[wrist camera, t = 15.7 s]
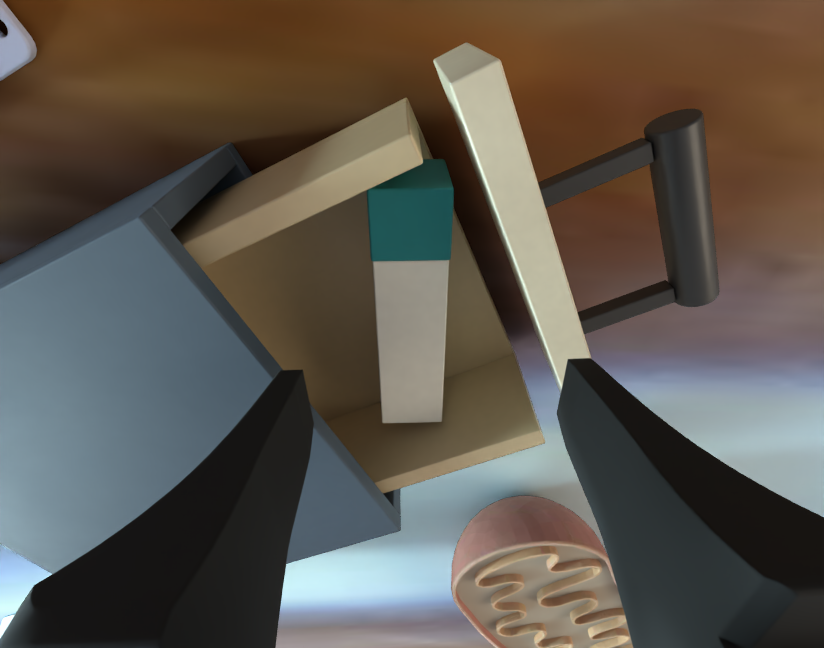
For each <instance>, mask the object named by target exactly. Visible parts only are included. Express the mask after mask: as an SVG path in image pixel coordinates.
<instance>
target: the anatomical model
mask: <svg viewBox="0 0 824 648" xmlns="http://www.w3.org/2000/svg"><path fill="white" fill-rule="evenodd" d="M451 590H452V595H453V599H454V602H455V603H456V605H457V606H458V608H459V609H460V611H461V612H462V613H463V614H464V615H465V616H466V617H467V619H468V620H469V621H470V622H471V623H472V624H473V626H474V627H475V628H476V629H477V630H478V631H479V633H480V634H482V635H483V636H484V637H485V638H486V639H487V640H488V641H489V642H490V643H491V644H492V645H493V646H494V647H495V648H633V645H632V641H631V637H630V633H629V629H628V625H627V621H626V617H625V613H624V610H623V606H622V603H621V599H620V596H619V592H618V588H617V585H616V581H615V578H614V574H613V571H612V567H611V564H610V561H609V558H608V555H607V553H606V551H605V549H604V548H603V546H602V544H601V542H600V541H599V539H598V537H597V536H596V534H595V533H594V531H593V530H592V529H591V528H590V527H589V526H588V525H587V524H586V522H585V521H583V520H582V519H581V518H580V517H579V516H578V515H576V514H575V513H574V512H572V511H571V510H570V509H568V508H566V507H564V506H562V505H560V504H558V503H556V502H554V501H551V500H548V499H545V498H541V497H534V496H515V497H509V498H505V499H501V500H499V501H497V502H495V503H492V504H490V505H489V506H487V507H486V508H484V509H482V510H481V511H480V512H479V513H478V514H477V515H476V516H475V517H474V518H472V519H471V521H470V522H469V524H468V525H467V526H466V528H465V529H464V531H463V533H462V535H461V537H460V539H459V541H458V543H457V546H456V549H455V553H454V557H453V562H452V579H451Z"/></svg>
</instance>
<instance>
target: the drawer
mask: <svg viewBox="0 0 824 648" xmlns="http://www.w3.org/2000/svg"><path fill="white" fill-rule="evenodd" d="M434 64H435V67H436V70H437V72H438V75H439V78H440V80H441V83H442V86H443V88H444V91H445V93H446V96H447V99H448V101H449V104H450V107H451V109H452V112H453V115H454V117H455V120H456V123H457V125H458V128H459V131H460V133H461V136H462V139H463V141H464V144H465V147H466V149H467V152H468V154H469V157H470V160H471V162H472V165H473V168H474V170H475V173H476V176H477V178H478V181H479V184H480V186H481V189H482V192H483V194H484V197H485V200H486V202H487V205H488V208H489V210H490V213H491V215H492V218H493V221H494V223H495V226H496V229H497V231H498V234H499V237H500V239H501V242H502V245H503V247H504V250H505V253H506V255H507V258H508V261H509V263H510V266H511V269H512V271H513V274H514V277H515V279H516V282H517V284H518V287H519V290H520V292H521V295H522V298H523V300H524V303H525V306H526V308H527V311H528V314H529V316H530V319H531V322H532V324H533V327H534V330H535V332H536V335H537V338H538V340H539V343H540V345H541V348H542V351H543V353H544V356H545V358H546V360H547V363H548V365H549V367H550V370H551V372H552V375H553V377H554V379H555V382H556V384H557V386H558V389H559V391H560V394H561V390H562V385H563V380H564V375H565V370H566V365H567V360H568V359H579V358H591V356H590V352H589V349H588V346H587V343H586V339H585V336H584V334H586V333H589V332H592V331H595V330H598V329H600V328H603V327H606V326H609V325H612V324H614V323H617V322H620V321H623V320H626V319H629V318H631V317H634V316H637V315H640V314H643V313H645V312H648V311H651V310H654V309H657V308H659V307H662V306H665V305H668V304H671V303H673V302H675V303H677V304H679V305H681V306H686V307H698V306H703V305H706V304H708V303H710V302H712V301H714V300H715V299H716V298H717V296H718V295H719V280H718V269H717V259H716V248H715V237H714V226H713V215H712V204H711V193H710V183H709V172H708V161H707V150H706V139H705V128H704V118H703V113H702V111H700V110H698V109H684V110H678V111H674V112H671V113H668V114H665V115H662V116H660V117H658V118H656V119H654V120H653V121H651V122H650V123H649V124H647V125H646V127H645V129H644V134H645V139H644V138H640V139H638V140H635V141H633V142H631V143H628V144H626V145H624V146H621V147H619V148H617V149H615V150H612V151H610V152H608V153H605V154H603V155H601V156H599V157H596V158H594V159H592V160H589V161H587V162H585V163H583V164H580V165H578V166H576V167H573V168H571V169H569V170H566V171H564V172H562V173H560V174H557V175H555V176H553V177H550V178H548V179H546V180H544V181H541V182H539V183H538V182H537V178H536V175H535V172H534V168H533V165H532V162H531V159H530V155H529V152H528V149H527V145H526V142H525V139H524V136H523V132H522V129H521V126H520V122H519V119H518V116H517V113H516V109H515V106H514V103H513V99H512V96H511V93H510V90H509V86H508V83H507V80H506V76H505V73H504V70H503V67H502V63H501V61H500V60H499V59H498V58H496V57H494V56H492V55H490V54H488V53H486V52H484V51H483V50H481V49H479V48H477V47H475V46H473V45H471V44H469V43H464V44H462V45H460V46H458V47H456V48H455V49H453V50H451V51H449V52H447V53H445V54H443V55H441V56H439V57H437V58H435V59H434ZM423 159H433V158H432V155H431V153H430V151H429V148H428V146H427V143H426V141H425V139H424V136H423V134H422V132H421V129H420V127H419V124H418V122H417V120H416V117H415V115H414V113H413V110H412V108H411V105H410V103H409V101H408V99H407V98H404V99H402V100H400V101H398V102H396V103H394V104H392V105H390V106H388V107H386V108H384V109H382V110H380V111H378V112H376V113H374V114H372V115H370V116H369V117H367V118H365V119H363V120H361V121H359V122H357V123H355V124H353V125H351V126H349V127H347V128H345V129H343V130H341V131H339V132H337V133H335V134H333V135H331V136H329V137H327V138H325V139H323V140H321V141H319V142H317V143H315V144H313V145H311V146H310V147H308V148H306V149H304V150H302V151H300V152H298V153H296V154H294V155H292V156H290V157H288V158H286V159H284V160H282V161H280V162H278V163H276V164H274V165H272V166H270V167H268V168H266V169H264V170H262V171H260V172H258V173H256V174H254V175H253V176H251V177H249V178H247V179H245V180H243V181H241V182H239V183H237V184H235V185H233V186H231V187H229V188H227V189H225V190H223V191H221V192H219V193H217V194H215V195H213V196H211V197H209V198H207V199H205V200H203V201H201V202H199V203H197V204H196V205H195V206H194V207H193V208H192V209H191V210H190V211H189V212H188V213H187V214H186V215H185V216H184V217H183V218H182V219H181V220H180V221H179V222H178V223H177V224H176V225H175V226H174V227H173V228H172V229H171V231H172V233H173V234H174V235H175V236H176V238H177V239H178V240H179V241H180V242H181V244H182V245H183V246H184V247H185V249H186V250H187V251H188V252H189V254H190V255H191V256H192V257H193V259H194V260H195V261H196V262H197V264H198V265H199V266H200V267H201V269H202V270H203V271H204V272H205V274H206V275H207V276H208V277H209V278H210V280H211V281H212V282H213V283H214V285H215V286H216V287H217V288H218V290H219V291H220V292H221V293H222V295H223V296H224V297H225V298H226V300H227V301H228V302H229V303H230V305H231V306H232V307H233V308H234V309H235V311H236V312H237V313H238V314H239V316H240V317H241V318H242V319H243V321H244V322H245V323H246V324H247V326H248V327H249V328H250V329H251V331H252V332H253V333H254V334H255V336H256V337H257V338H258V339H259V341H260V342H261V343H262V344H263V345H264V347H265V348H266V349H267V350H268V352H269V353H270V354H271V355H272V357H273V358H274V359H275V360H276V362H277V363H278V364H279V365H280V367H281V368H282V369H283V370H302V369H303V373H304V378H305V383H306V388H307V392H308V397H309V402H310V404H311V405H312V406H313V408H314V409H315V410H316V411H317V412H318V414H319V415H320V416H321V417H322V419H323V420H324V421H325V422H326V424H327V425H328V426H329V427H330V429H331V430H332V431H333V432H334V434H335V435H336V436H337V437H338V439H339V440H340V441H341V442H342V444H343V445H344V446H345V447H346V448H347V450H348V451H349V452H350V453H351V455H352V456H353V457H354V458H355V460H356V461H357V462H358V463H359V465H360V466H361V467H362V468H363V470H364V471H365V472H366V473H367V475H368V476H369V477H370V478H371V480H372V481H373V482H374V483H375V484H376V486H377V487H378V488H379V489H380V491H381V492H382V493H386V492H390V491H393V490H396V489H399V488H402V487H406V486H409V485H412V484H415V483H419V482H422V481H425V480H428V479H431V478H435V477H438V476H441V475H444V474H447V473H451V472H454V471H457V470H460V469H463V468H467V467H470V466H473V465H476V464H479V463H483V462H486V461H489V460H492V459H496V458H499V457H502V456H505V455H508V454H512V453H515V452H518V451H521V450H524V449H528V448H531V447H534V446H537V445H540V444H544V443H545V440H544V437H543V434H542V431H541V428H540V425H539V422H538V419H537V416H536V413H535V410H534V407H533V404H532V401H531V398H530V396H529V393H528V390H527V387H526V384H525V381H524V378H523V375H522V372H521V369H520V366H519V363H518V360H517V357H516V354H515V352H514V350H513V347H512V345H511V343H510V340H509V338H508V336H507V333H506V331H505V328H504V326H503V324H502V321H501V319H500V317H499V314H498V312H497V309H496V307H495V305H494V302H493V300H492V298H491V295H490V293H489V290H488V288H487V286H486V283H485V281H484V279H483V276H482V274H481V271H480V269H479V267H478V264H477V262H476V260H475V257H474V255H473V253H472V250H471V248H470V245H469V243H468V241H467V238H466V236H465V234H464V231H463V229H462V226H461V224H460V222H459V219H458V217H457V215H456V212H455V210H454V207H453V225H452V247H451V259H450V260H449V271H448V294H447V317H446V340H445V363H444V385H443V408H442V421H441V422H418V423H382V415H381V398H380V380H379V363H378V346H377V329H376V312H375V295H374V278H373V261H371V257H370V241H369V224H368V208H367V190H368V189H370V188H372V187H374V186H376V185H378V184H381V183H383V182H385V181H387V180H389V179H391V178H393V177H395V176H398V175H400V174H402V173H404V172H406V171H408V170H410V169H412V168H415V167H417V166H419V165H421V164H422V163H423ZM648 164H649V165H650V171H651V177H652V184H653V190H654V196H655V202H656V208H657V214H658V220H659V227H660V233H661V239H662V245H663V251H664V257H665V263H666V270H667V276H668V282H669V283H668V282H667V281H666V280H664V281H661V282H659V283H656V284H653V285H651V286H648V287H645V288H642V289H640V290H637V291H634V292H632V293H629V294H626V295H623V296H621V297H618V298H615V299H613V300H610V301H607V302H604V303H602V304H599V305H596V306H593V307H591V308H588V309H585V310H583V311H580V312H577V310H576V306H575V303H574V300H573V297H572V293H571V290H570V287H569V283H568V280H567V277H566V274H565V270H564V267H563V264H562V260H561V257H560V254H559V251H558V247H557V244H556V241H555V237H554V234H553V231H552V228H551V224H550V221H549V218H548V214H547V211H546V207H549V206H551V205H553V204H556V203H558V202H561V201H563V200H565V199H568V198H570V197H572V196H575V195H577V194H579V193H582V192H584V191H587V190H589V189H591V188H594V187H596V186H598V185H601V184H603V183H605V182H608V181H610V180H613V179H615V178H617V177H620V176H622V175H624V174H627V173H629V172H632V171H634V170H636V169H639V168H641V167H643V166H646V165H648Z"/></svg>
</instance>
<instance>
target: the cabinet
mask: <svg viewBox="0 0 824 648" xmlns="http://www.w3.org/2000/svg"><path fill="white" fill-rule="evenodd" d="M251 176H253V175H252V173H251V172H250V170H249V169H248V167H247V166H246V164H245V162H244V161H243V159H242V158H241V156H240V155H239V153H238V152H237V150H236V149H235V147H234V146H233V144H232V143H231V142H229V143H227V144H225V145H223V146H221V147H220V148H218V149H216V150H214V151H212V152H210V153H208V154H207V155H205V156H203V157H201V158H199V159H197V160H195V161H193V162H192V163H190V164H188V165H186V166H184V167H182V168H180V169H178V170H177V171H175V172H173V173H171V174H169V175H167V176H165V177H163V178H162V179H160V180H158V181H156V182H154V183H152V184H150V185H148V186H147V187H145V188H143V189H141V190H139V191H137V192H135V193H133V194H132V195H130V196H128V197H126V198H124V199H122V200H120V201H118V202H117V203H115V204H113V205H111V206H109V207H107V208H105V209H103V210H102V211H100V212H98V213H96V214H94V215H92V216H90V217H88V218H87V219H85V220H83V221H81V222H79V223H77V224H75V225H73V226H72V227H70V228H68V229H66V230H64V231H62V232H60V233H58V234H57V235H55V236H53V237H51V238H49V239H47V240H45V241H43V242H42V243H40V244H38V245H36V246H34V247H32V248H30V249H28V250H27V251H25V252H23V253H21V254H19V255H17V256H15V257H13V258H12V259H10V260H8V261H6V262H4V263H2V264H0V544H1V545H3V546H4V547H6V548H8V549H10V550H11V551H13V552H15V553H17V554H18V555H20V556H22V557H24V558H25V559H27V560H29V561H31V562H32V563H34V564H36V565H38V566H39V567H41V568H43V569H45V570H46V571H48V572H50V573H52V574H54V573H55V572H57V571H59V570H60V569H62V568H63V567H65V566H67V565H68V564H70V563H71V562H73V561H75V560H76V559H78V558H79V557H81V556H82V555H84V554H86V553H87V552H89V551H90V550H92V549H93V548H95V547H96V546H98V545H99V544H101V543H102V542H103V541H105V540H106V539H108V538H109V537H111V536H112V535H114V534H115V533H116V532H118V531H119V530H121V529H122V528H123V527H125V526H126V525H127V524H129V523H130V522H131V521H133V520H134V519H136V518H137V517H138V516H140V515H141V514H142V513H143V512H145V511H146V510H147V509H148V508H150V507H151V506H152V505H153V504H154V503H156V502H157V501H158V500H159V499H161V498H162V497H163V496H164V495H166V494H167V493H168V492H169V491H170V490H172V489H173V488H174V487H175V486H176V485H178V484H179V483H180V482H181V481H182V480H183V479H184V478H185V477H186V476H187V475H188V474H190V473H191V472H192V471H193V470H194V469H195V468H196V467H197V466H198V465H199V464H200V463H201V462H202V461H203V460H204V459H205V458H206V457H207V456H208V455H209V454H210V453H211V452H212V451H213V450H214V449H215V448H216V446H217V445H218V444H219V443H220V442H221V441H222V440H223V439H224V438H225V437H226V436H227V435H228V433H229V432H230V431H231V430H232V429H233V428H234V427H235V426H236V424H237V423H238V422H239V421H240V420H241V418H242V417H243V416H244V415H245V414H246V412H247V411H248V410H249V409H250V408H251V406H252V405H253V404H254V403H255V401H256V400H257V399H258V398H259V396H260V395H261V394H262V393H263V391H264V390H265V389H266V387H267V386H268V385H269V383H270V382H271V381H272V380H273V378H274V377H275V376H276V374H277V373H278V372H279V371H280V370H283V369H282V368H281V367H280V365H279V364H278V363H277V362H276V360H275V359H274V358H273V357H272V355H271V354H270V353H269V352H268V350H267V349H266V348H265V347H264V345H263V344H262V343H261V342H260V341H259V339H258V338H257V337H256V336H255V334H254V333H253V332H252V331H251V329H250V328H249V327H248V326H247V324H246V323H245V322H244V321H243V319H242V318H241V317H240V316H239V314H238V313H237V312H236V311H235V309H234V308H233V307H232V306H231V305H230V303H229V302H228V301H227V300H226V298H225V297H224V296H223V295H222V293H221V292H220V291H219V290H218V288H217V287H216V286H215V285H214V283H213V282H212V281H211V280H210V278H209V277H208V276H207V275H206V274H205V272H204V271H203V270H202V269H201V267H200V266H199V265H198V264H197V262H196V261H195V260H194V259H193V257H192V256H191V255H190V254H189V252H188V251H187V250H186V249H185V247H184V246H183V245H182V244H181V242H180V241H179V240H178V239H177V238H176V236H175V235H174V234H173V233H172V231H171V229H172V228H173V227H174V226H175V225H176V224H177V223H178V222H179V221H180V220H181V219H182V218H183V217H184V216H185V215H186V214H187V213H188V212H189V211H190V210H191V209H192V208H193V207H194V206H195V205H196V204H197V203H199V202H201V201H203V200H205V199H207V198H209V197H211V196H213V195H215V194H217V193H219V192H221V191H223V190H225V189H227V188H229V187H231V186H233V185H235V184H237V183H239V182H241V181H243V180H245V179H247V178H249V177H251ZM310 407H311V411H312V416H313V421H314V427H313V437H312V445H311V453H310V459H309V464H308V468H307V472H306V476H305V480H304V485H303V489H302V493H301V497H300V501H299V505H298V509H297V513H296V517H295V521H294V525H293V529H292V533H291V538H290V543H289V548H288V554H287V561H286V564H287V563H291V562H294V561H298V560H301V559H305V558H308V557H311V556H315V555H318V554H322V553H325V552H329V551H332V550H336V549H339V548H342V547H346V546H349V545H353V544H356V543H360V542H363V541H367V540H370V539H373V538H377V537H380V536H384V535H387V534H391V533H394V532H398V531H400V530H401V516H400V488H399V489H396V490H393V491H390V492H386V493H382V492H381V491H380V489H379V488H378V487H377V486H376V484H375V483H374V482H373V481H372V480H371V478H370V477H369V476H368V475H367V473H366V472H365V471H364V470H363V468H362V467H361V466H360V465H359V463H358V462H357V461H356V460H355V458H354V457H353V456H352V455H351V453H350V452H349V451H348V450H347V448H346V447H345V446H344V445H343V444H342V442H341V441H340V440H339V439H338V437H337V436H336V435H335V434H334V432H333V431H332V430H331V429H330V427H329V426H328V425H327V424H326V422H325V421H324V420H323V419H322V417H321V416H320V415H319V414H318V412H317V411H316V410H315V409H314V408H313V406H312V405H311V404H310Z"/></svg>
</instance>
